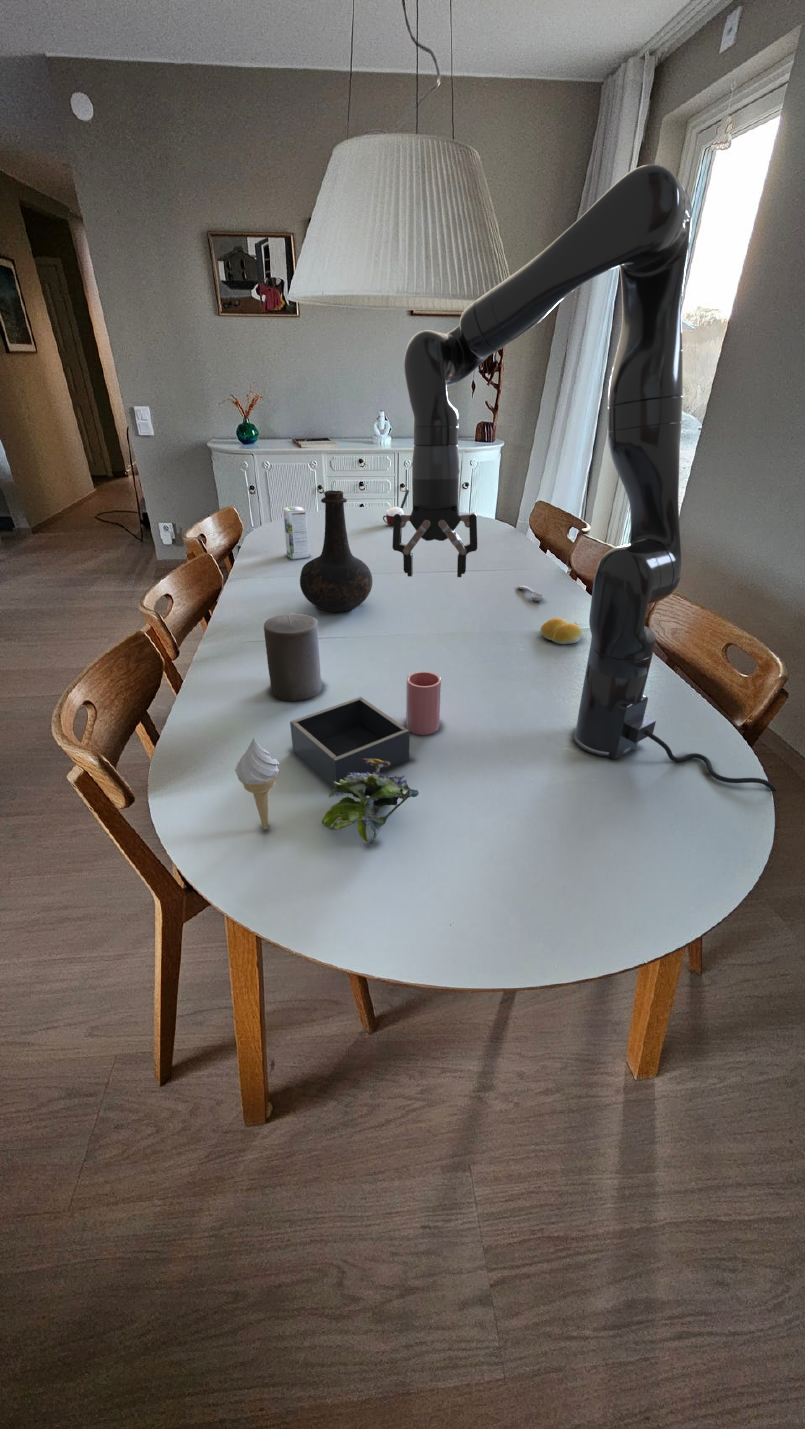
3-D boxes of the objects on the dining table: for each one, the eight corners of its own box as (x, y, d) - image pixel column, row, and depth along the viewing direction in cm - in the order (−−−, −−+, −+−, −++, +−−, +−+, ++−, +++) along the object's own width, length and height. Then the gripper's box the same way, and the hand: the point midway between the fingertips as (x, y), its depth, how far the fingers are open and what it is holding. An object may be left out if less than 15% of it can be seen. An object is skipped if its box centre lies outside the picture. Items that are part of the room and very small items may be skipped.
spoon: (535, 603, 159) (535, 595, 159) (515, 591, 170) (516, 584, 169) (545, 602, 160) (546, 594, 159) (525, 590, 170) (526, 583, 170)
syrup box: (286, 554, 196) (281, 507, 188) (304, 552, 198) (300, 505, 190) (291, 559, 191) (287, 511, 184) (309, 557, 193) (306, 509, 186)
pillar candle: (273, 704, 114) (264, 629, 107) (268, 681, 122) (260, 609, 115) (326, 698, 117) (320, 623, 109) (318, 675, 125) (312, 604, 117)
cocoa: (382, 527, 226) (382, 492, 220) (383, 523, 231) (382, 489, 225) (409, 527, 226) (409, 492, 220) (408, 523, 231) (409, 489, 225)
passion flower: (378, 835, 92) (424, 773, 89) (381, 879, 82) (433, 810, 79) (312, 799, 89) (358, 734, 86) (307, 839, 79) (358, 767, 76)
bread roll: (566, 648, 136) (569, 631, 134) (534, 636, 142) (536, 619, 140) (589, 638, 141) (591, 622, 139) (556, 627, 146) (559, 610, 144)
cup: (445, 727, 108) (448, 680, 103) (420, 738, 105) (421, 690, 100) (425, 714, 112) (426, 668, 107) (399, 724, 109) (399, 677, 104)
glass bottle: (295, 598, 162) (285, 486, 148) (360, 590, 168) (357, 481, 153) (311, 623, 148) (302, 501, 133) (382, 613, 153) (380, 495, 139)
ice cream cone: (268, 810, 88) (256, 720, 81) (295, 827, 85) (285, 735, 78) (236, 831, 85) (220, 738, 77) (263, 849, 82) (249, 755, 74)
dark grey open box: (409, 760, 99) (409, 730, 96) (337, 791, 92) (335, 760, 89) (361, 724, 109) (360, 696, 106) (292, 750, 102) (289, 721, 99)
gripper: (388, 477, 98) (391, 580, 105) (479, 477, 96) (476, 581, 103) (394, 475, 105) (396, 571, 111) (479, 474, 103) (476, 572, 110)
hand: (434, 576), depth 107 cm, fingers open, 8 cm apart
